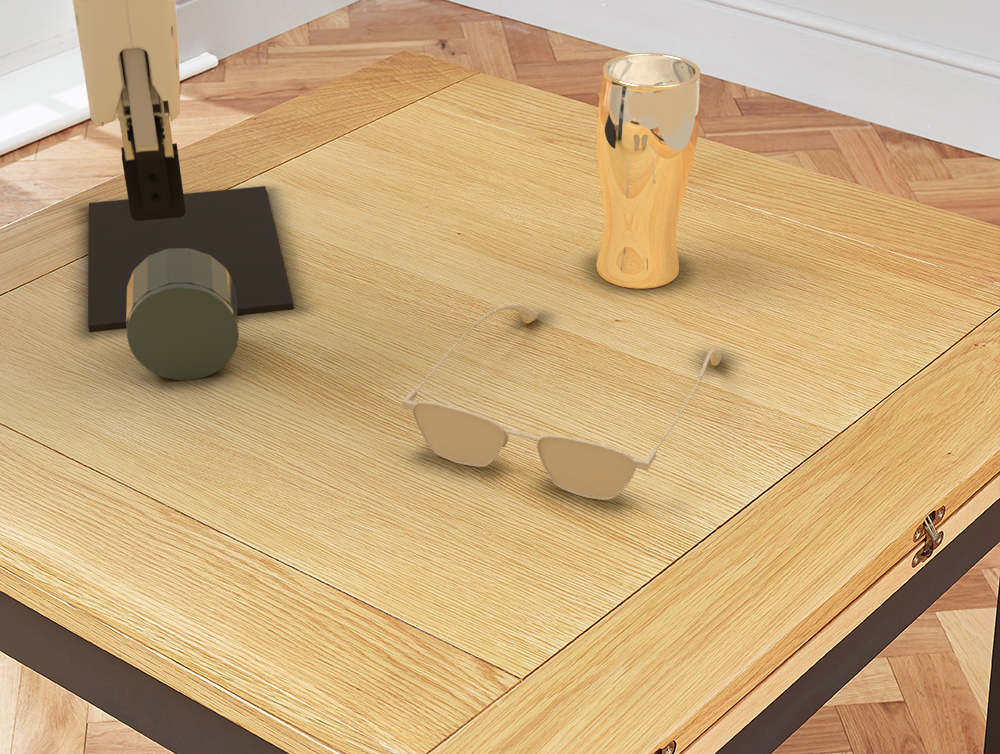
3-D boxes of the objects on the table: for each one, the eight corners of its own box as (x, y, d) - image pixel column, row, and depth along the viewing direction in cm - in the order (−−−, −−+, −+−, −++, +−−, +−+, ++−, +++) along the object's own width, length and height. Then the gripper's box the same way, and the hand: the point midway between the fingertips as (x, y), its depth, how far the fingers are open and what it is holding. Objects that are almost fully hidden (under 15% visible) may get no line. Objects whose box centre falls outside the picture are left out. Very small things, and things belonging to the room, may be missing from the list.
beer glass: (575, 280, 98) (583, 77, 89) (611, 241, 103) (622, 45, 94) (665, 300, 96) (683, 94, 87) (697, 259, 101) (717, 60, 92)
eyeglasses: (401, 450, 81) (398, 394, 79) (520, 314, 94) (521, 262, 92) (643, 515, 76) (648, 457, 74) (734, 362, 89) (740, 309, 87)
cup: (112, 362, 86) (113, 320, 89) (216, 393, 89) (213, 351, 92) (147, 273, 82) (147, 233, 86) (255, 308, 85) (250, 268, 89)
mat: (293, 309, 95) (293, 302, 95) (89, 332, 92) (87, 325, 92) (266, 191, 110) (265, 185, 110) (89, 208, 108) (88, 202, 108)
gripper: (41, -143, 75) (94, 167, 87) (32, -68, 64) (94, 278, 75) (178, -147, 77) (212, 158, 88) (193, -75, 65) (231, 265, 77)
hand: (158, 212), depth 82 cm, fingers closed
